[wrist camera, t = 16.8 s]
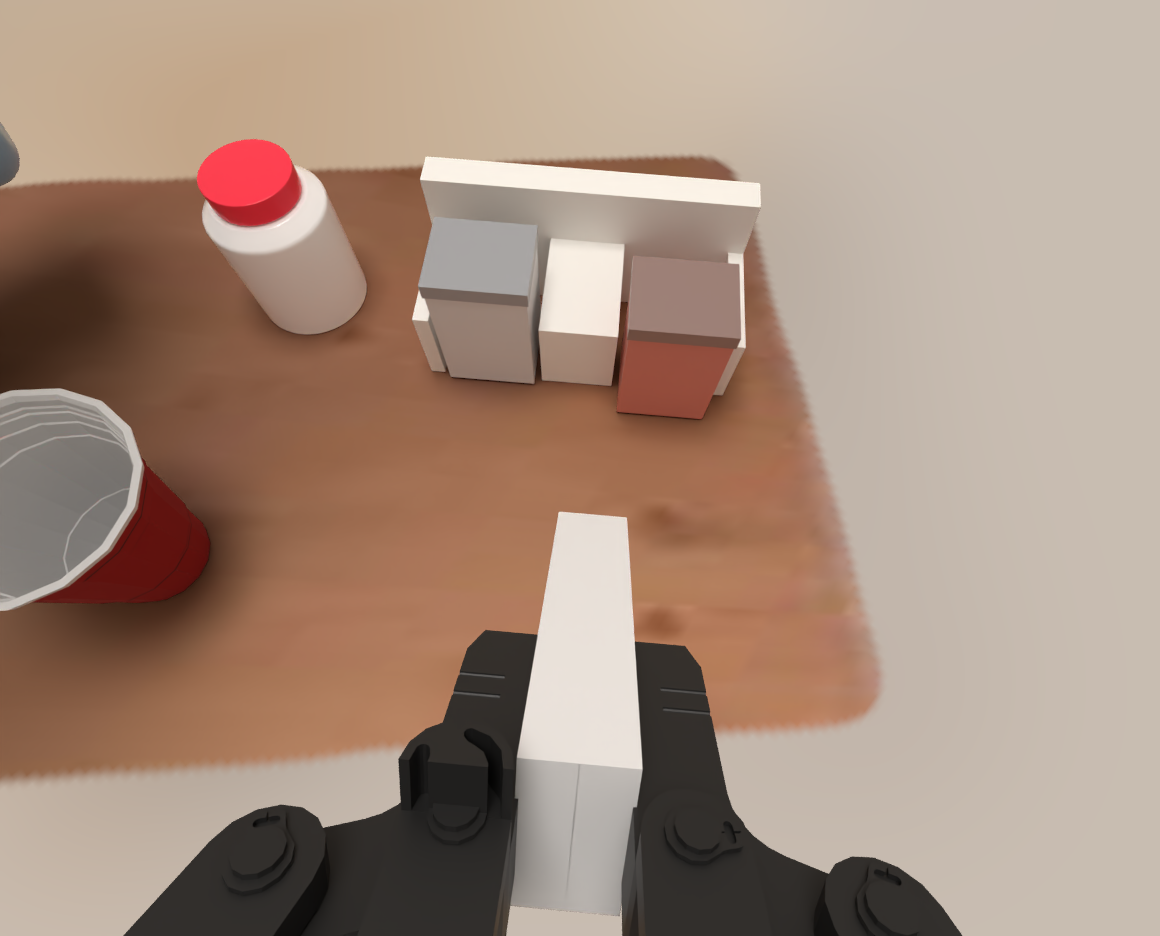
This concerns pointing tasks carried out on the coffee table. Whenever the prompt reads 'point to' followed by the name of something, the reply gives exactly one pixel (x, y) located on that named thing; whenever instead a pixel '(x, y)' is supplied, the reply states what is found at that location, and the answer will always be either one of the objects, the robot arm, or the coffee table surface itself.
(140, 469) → the plastic cup
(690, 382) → the capped red pillar
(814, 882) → the robot arm
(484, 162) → the rack
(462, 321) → the grey capped white pillar
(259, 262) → the pill bottle
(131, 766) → the coffee table surface
